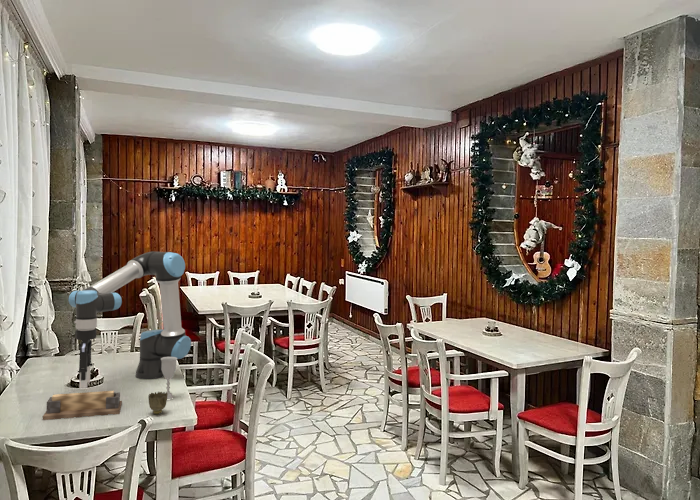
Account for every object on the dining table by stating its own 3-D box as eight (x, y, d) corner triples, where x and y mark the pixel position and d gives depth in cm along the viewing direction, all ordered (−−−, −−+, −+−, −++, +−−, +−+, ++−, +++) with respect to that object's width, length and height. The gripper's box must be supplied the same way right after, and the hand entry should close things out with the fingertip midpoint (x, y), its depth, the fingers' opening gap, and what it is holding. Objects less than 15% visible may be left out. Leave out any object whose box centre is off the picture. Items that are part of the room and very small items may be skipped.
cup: (151, 410, 207) (151, 391, 207) (169, 410, 208) (169, 391, 208) (145, 416, 200) (145, 396, 200) (164, 416, 200) (164, 397, 200)
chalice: (179, 397, 224) (180, 357, 224) (169, 402, 218) (170, 361, 217) (166, 395, 226) (167, 356, 226) (155, 399, 220) (156, 359, 220)
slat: (113, 404, 208) (114, 390, 207) (112, 407, 205) (113, 392, 205) (53, 409, 200) (53, 394, 200) (51, 411, 197) (52, 396, 197)
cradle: (121, 404, 213) (122, 390, 213) (119, 414, 202) (119, 399, 201) (49, 409, 204) (49, 395, 203) (42, 420, 192) (42, 404, 192)
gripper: (79, 324, 210) (78, 378, 210) (71, 333, 191) (69, 393, 192) (99, 324, 212) (98, 377, 213) (92, 333, 194) (91, 391, 194)
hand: (84, 384), depth 202 cm, fingers open, 7 cm apart
